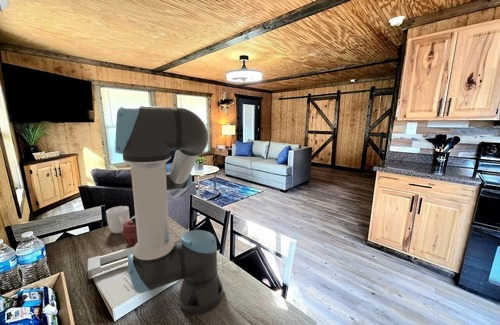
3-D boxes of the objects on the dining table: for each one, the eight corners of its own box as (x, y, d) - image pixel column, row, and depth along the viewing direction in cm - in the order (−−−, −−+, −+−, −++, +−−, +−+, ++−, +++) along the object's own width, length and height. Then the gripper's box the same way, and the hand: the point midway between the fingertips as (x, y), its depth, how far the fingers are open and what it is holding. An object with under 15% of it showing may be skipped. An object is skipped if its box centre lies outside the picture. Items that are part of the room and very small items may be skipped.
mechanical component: (131, 238, 113) (149, 239, 112) (118, 248, 103) (137, 249, 102) (129, 216, 111) (147, 217, 110) (115, 225, 101) (135, 226, 100)
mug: (135, 233, 118) (133, 211, 116) (112, 240, 110) (109, 217, 108) (127, 224, 128) (125, 204, 126) (106, 230, 121) (104, 209, 119)
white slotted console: (147, 259, 94) (146, 251, 94) (89, 279, 82) (87, 270, 81) (142, 249, 102) (142, 242, 101) (89, 266, 89) (87, 258, 89)
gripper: (158, 195, 102) (161, 240, 106) (128, 201, 94) (132, 249, 98) (162, 199, 96) (166, 246, 100) (130, 205, 88) (135, 256, 92)
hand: (149, 247), depth 99 cm, fingers closed
